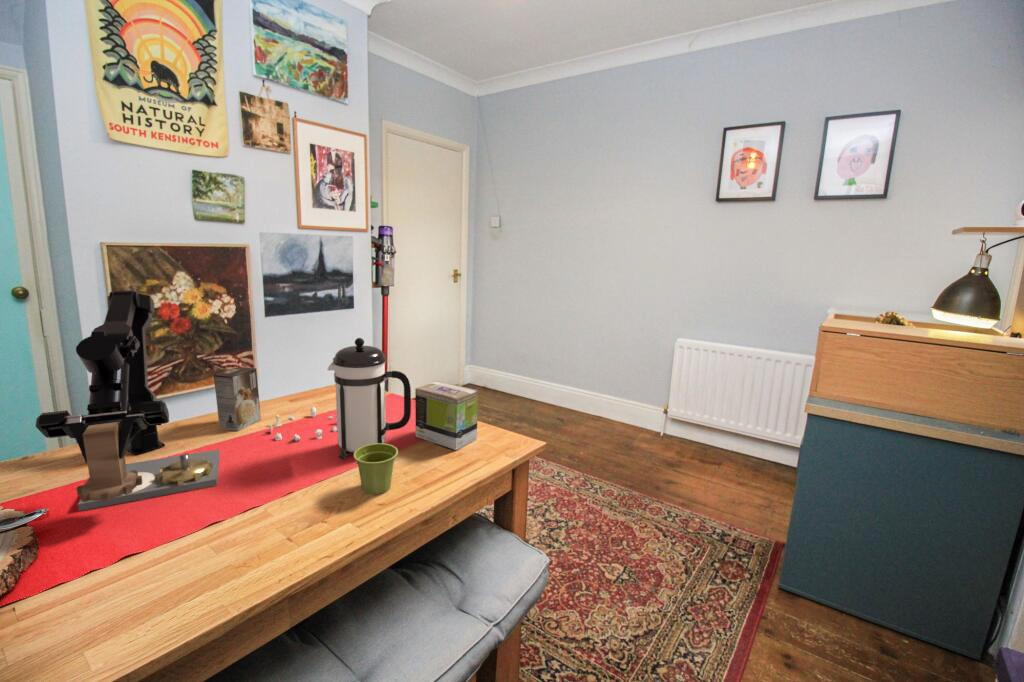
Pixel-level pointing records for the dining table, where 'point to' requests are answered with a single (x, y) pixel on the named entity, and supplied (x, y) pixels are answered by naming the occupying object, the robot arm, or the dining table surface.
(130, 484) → the walnut gear
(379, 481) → the plant pot
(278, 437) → the game piece set
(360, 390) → the coffee press
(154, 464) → the gear board
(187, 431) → the dining table surface
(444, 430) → the tea box
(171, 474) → the brass gear
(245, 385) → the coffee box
